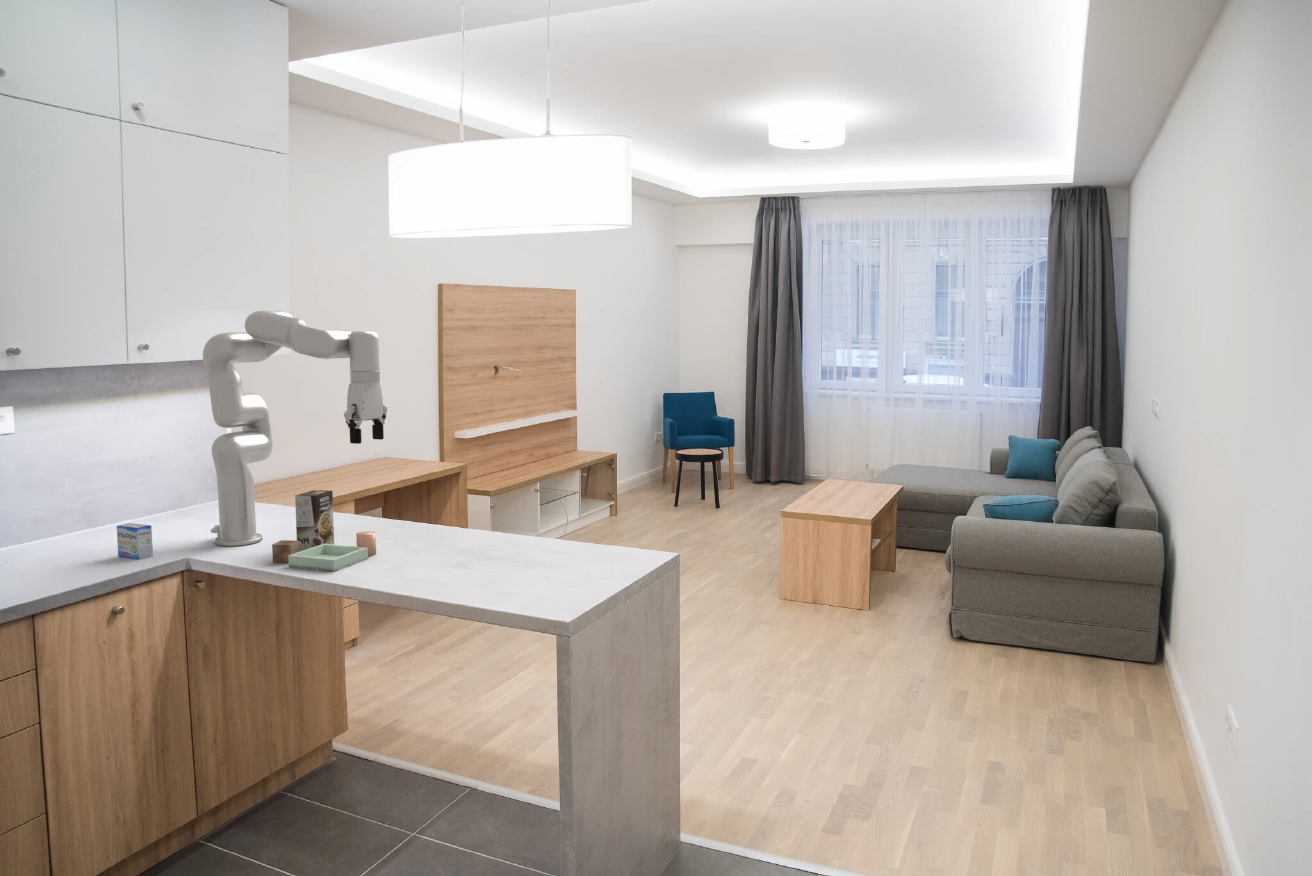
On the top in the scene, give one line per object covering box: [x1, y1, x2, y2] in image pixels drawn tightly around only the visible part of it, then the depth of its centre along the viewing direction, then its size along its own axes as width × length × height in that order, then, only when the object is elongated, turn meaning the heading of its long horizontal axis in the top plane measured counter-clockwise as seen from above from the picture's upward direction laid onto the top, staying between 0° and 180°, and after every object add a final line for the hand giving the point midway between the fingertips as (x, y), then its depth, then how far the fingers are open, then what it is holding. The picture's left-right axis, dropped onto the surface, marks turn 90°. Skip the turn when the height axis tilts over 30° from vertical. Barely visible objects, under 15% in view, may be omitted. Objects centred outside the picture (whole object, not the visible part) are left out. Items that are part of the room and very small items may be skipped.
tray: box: [288, 543, 369, 572], centre depth 238 cm, size 14×14×3 cm
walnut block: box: [271, 539, 300, 564], centre depth 239 cm, size 5×5×5 cm
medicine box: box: [116, 522, 154, 560], centre depth 243 cm, size 8×4×9 cm, turn 70°
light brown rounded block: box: [356, 530, 377, 558], centre depth 246 cm, size 5×5×6 cm
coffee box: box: [294, 489, 335, 551], centre depth 251 cm, size 9×6×16 cm
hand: (367, 441), depth 243 cm, fingers open, 9 cm apart
